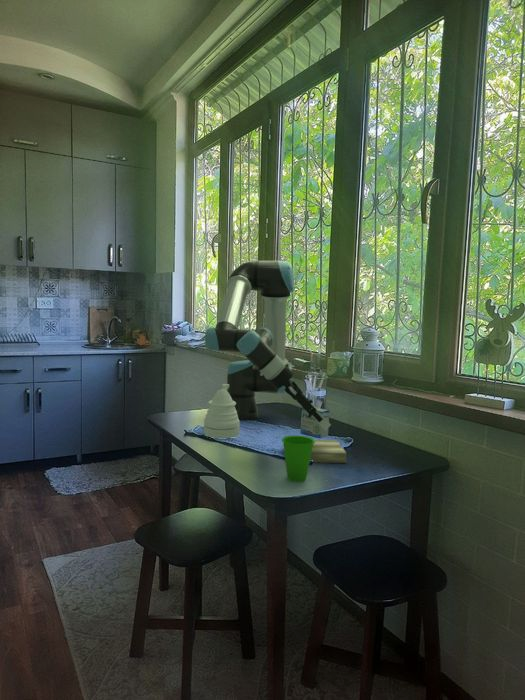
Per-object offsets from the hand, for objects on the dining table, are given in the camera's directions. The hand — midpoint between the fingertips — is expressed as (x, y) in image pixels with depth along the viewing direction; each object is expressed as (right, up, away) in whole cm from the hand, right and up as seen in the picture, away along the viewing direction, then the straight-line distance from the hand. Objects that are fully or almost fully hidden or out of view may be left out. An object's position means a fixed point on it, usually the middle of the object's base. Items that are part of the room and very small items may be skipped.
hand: (325, 423), depth 156 cm
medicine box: (-3, -4, 0) cm, 5 cm away
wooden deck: (-4, -10, +1) cm, 11 cm away
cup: (-10, -12, -20) cm, 26 cm away
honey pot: (-35, -7, +21) cm, 41 cm away
